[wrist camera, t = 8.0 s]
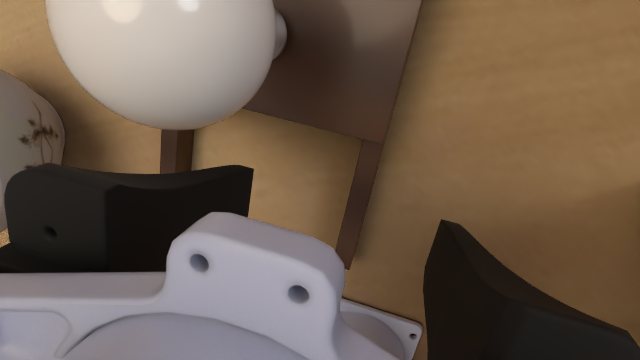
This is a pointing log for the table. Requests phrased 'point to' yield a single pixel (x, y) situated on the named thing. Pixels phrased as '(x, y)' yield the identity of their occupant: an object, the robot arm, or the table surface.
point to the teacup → (25, 133)
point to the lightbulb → (168, 55)
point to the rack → (332, 86)
